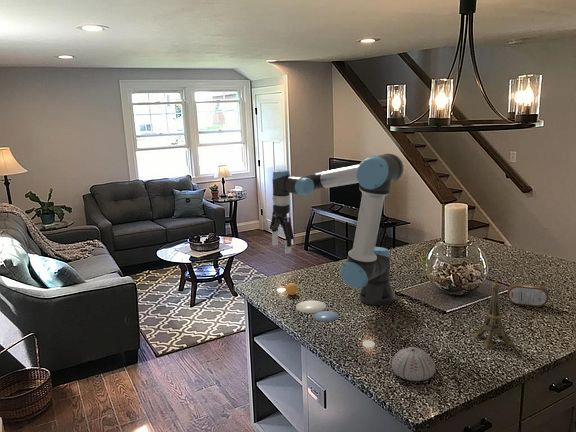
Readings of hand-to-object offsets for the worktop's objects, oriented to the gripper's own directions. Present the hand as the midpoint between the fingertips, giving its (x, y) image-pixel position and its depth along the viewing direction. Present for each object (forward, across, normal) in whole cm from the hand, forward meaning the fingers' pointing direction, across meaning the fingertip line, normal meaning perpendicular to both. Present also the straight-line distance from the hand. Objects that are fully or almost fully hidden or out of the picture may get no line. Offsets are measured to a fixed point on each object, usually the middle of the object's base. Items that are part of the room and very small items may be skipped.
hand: (281, 249), depth 219 cm
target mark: (+19, +25, +2) cm, 31 cm away
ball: (+17, +8, +1) cm, 19 cm away
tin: (+14, +72, +76) cm, 106 cm away
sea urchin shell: (+16, +88, +3) cm, 90 cm away
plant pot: (+17, +25, +69) cm, 75 cm away
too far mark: (+18, +37, +2) cm, 41 cm away
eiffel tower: (+14, +86, +40) cm, 96 cm away
